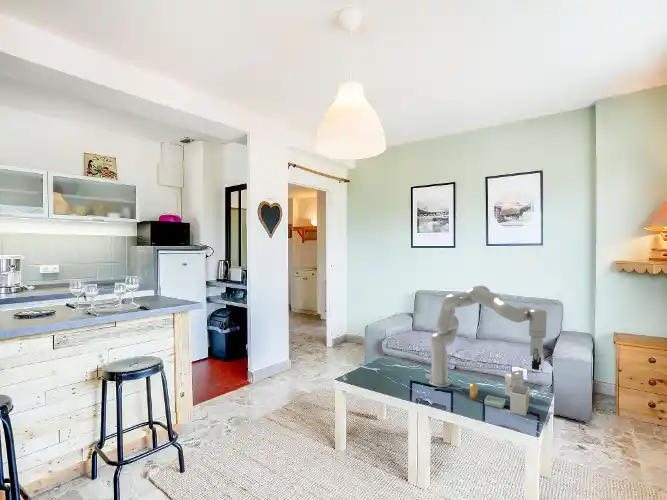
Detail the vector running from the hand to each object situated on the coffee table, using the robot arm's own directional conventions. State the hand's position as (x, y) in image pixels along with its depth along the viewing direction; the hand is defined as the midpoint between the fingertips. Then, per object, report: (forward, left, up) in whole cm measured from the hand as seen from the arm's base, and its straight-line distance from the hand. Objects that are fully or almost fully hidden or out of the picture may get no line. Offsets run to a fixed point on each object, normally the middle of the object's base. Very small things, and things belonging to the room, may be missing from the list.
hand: (536, 366), depth 186 cm
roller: (-30, 0, -24) cm, 38 cm away
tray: (-19, 0, -24) cm, 31 cm away
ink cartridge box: (-12, +18, -24) cm, 32 cm away
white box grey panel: (-7, 0, -24) cm, 25 cm away
